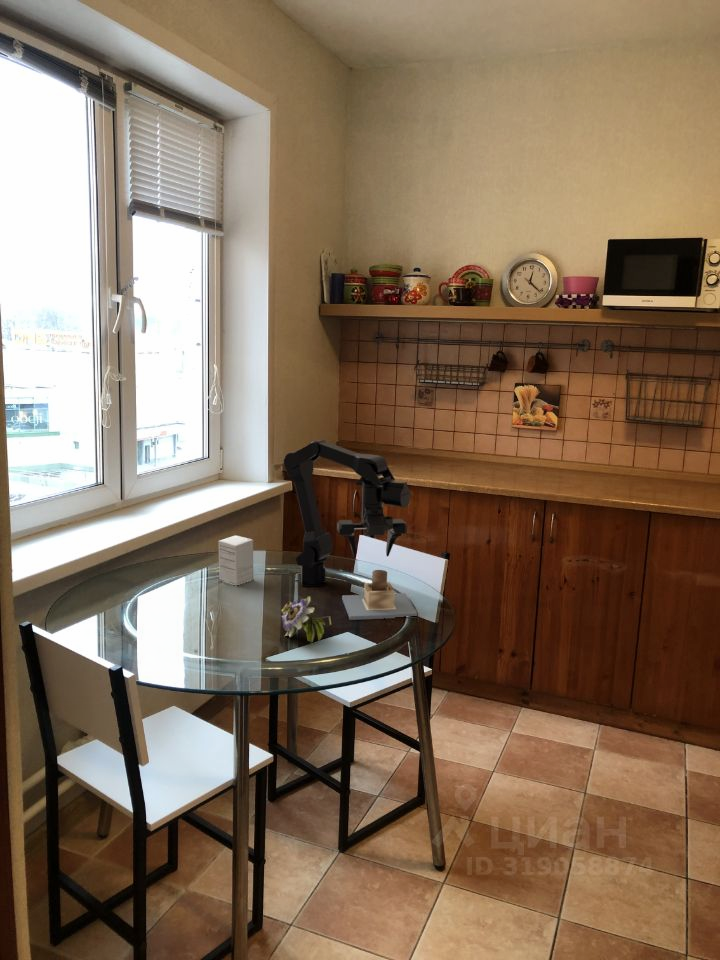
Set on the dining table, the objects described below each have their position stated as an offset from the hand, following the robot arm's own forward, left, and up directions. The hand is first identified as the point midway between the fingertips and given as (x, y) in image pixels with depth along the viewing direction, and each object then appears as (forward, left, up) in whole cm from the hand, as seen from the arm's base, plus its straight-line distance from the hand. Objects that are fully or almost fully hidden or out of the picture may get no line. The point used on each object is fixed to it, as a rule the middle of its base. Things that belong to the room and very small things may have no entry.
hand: (371, 556), depth 216 cm
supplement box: (-37, +17, -12) cm, 43 cm away
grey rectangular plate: (+1, -8, -12) cm, 14 cm away
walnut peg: (+1, -8, -7) cm, 11 cm away
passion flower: (-21, -24, -12) cm, 34 cm away
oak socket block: (+1, -8, -11) cm, 13 cm away
